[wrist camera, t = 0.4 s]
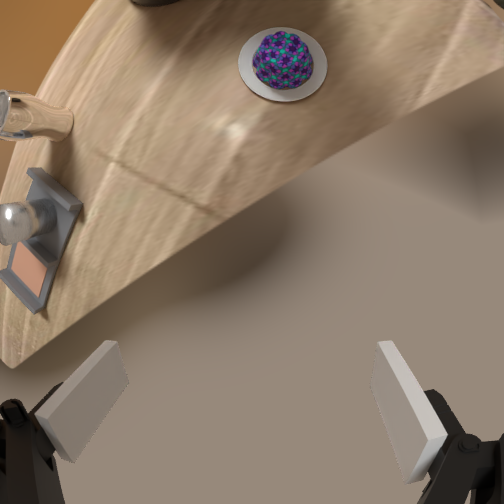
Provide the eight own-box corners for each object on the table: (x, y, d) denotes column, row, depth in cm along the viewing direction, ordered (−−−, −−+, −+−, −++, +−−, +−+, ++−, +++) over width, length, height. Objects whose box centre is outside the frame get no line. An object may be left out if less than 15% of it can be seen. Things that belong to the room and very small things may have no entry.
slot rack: (40, 167, 41) (28, 167, 37) (83, 203, 41) (70, 205, 38) (8, 270, 46) (-2, 275, 43) (44, 308, 46) (34, 314, 43)
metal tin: (32, 201, 41) (-9, 207, 31) (54, 195, 41) (12, 200, 31) (36, 235, 42) (-4, 247, 33) (59, 231, 42) (18, 243, 32)
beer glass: (46, 112, 38) (-16, 100, 24) (75, 98, 38) (12, 79, 23) (47, 149, 40) (-18, 146, 25) (76, 137, 39) (10, 128, 24)
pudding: (306, 117, 37) (310, 107, 31) (224, 83, 36) (216, 70, 31) (339, 49, 34) (346, 34, 29) (261, 19, 34) (258, 1, 28)
